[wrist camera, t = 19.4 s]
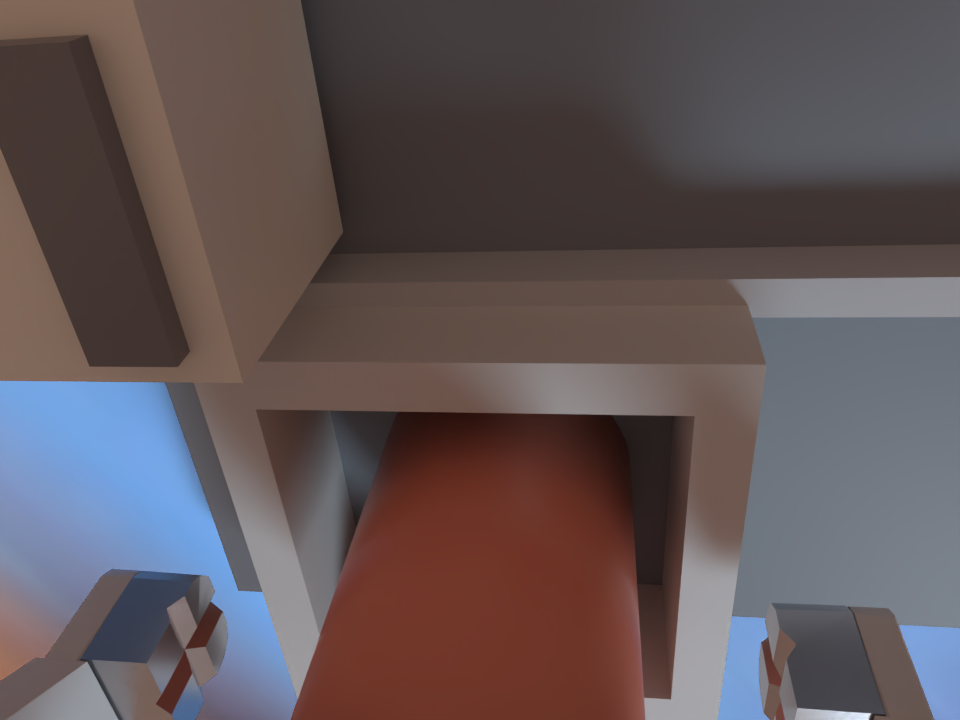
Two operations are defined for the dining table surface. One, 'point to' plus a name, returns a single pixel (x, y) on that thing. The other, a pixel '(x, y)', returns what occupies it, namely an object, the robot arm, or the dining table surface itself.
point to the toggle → (156, 186)
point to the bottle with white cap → (487, 577)
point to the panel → (630, 299)
